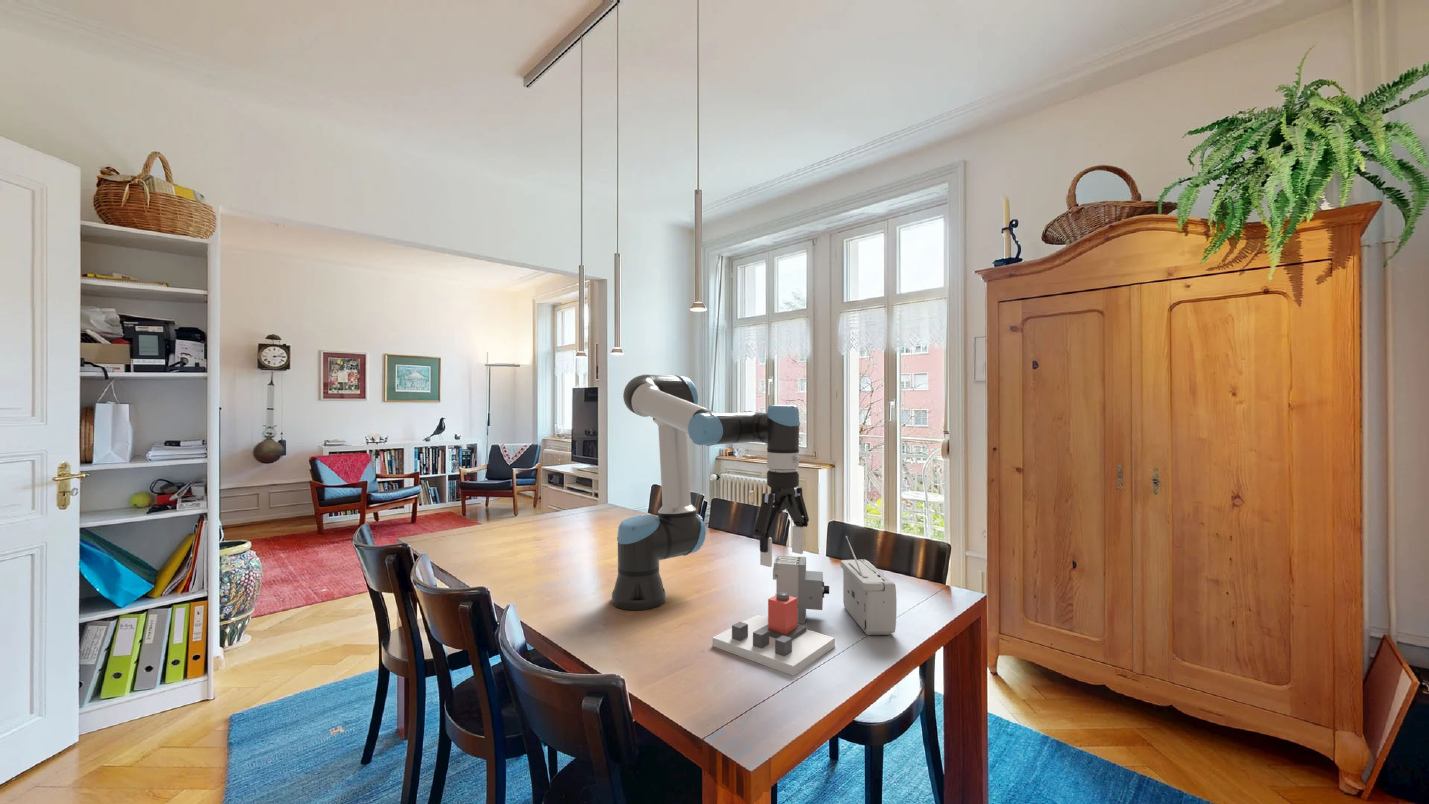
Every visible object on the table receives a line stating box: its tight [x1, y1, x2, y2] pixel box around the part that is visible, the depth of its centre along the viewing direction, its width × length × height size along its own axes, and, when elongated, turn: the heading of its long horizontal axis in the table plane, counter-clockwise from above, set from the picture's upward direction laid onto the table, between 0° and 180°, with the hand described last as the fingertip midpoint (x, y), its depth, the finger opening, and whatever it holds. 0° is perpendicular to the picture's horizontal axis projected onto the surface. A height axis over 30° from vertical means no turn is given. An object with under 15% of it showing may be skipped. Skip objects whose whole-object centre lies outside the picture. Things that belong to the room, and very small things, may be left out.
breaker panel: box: [711, 614, 836, 676], centre depth 131 cm, size 22×18×5 cm
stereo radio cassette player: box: [840, 535, 897, 636], centre depth 146 cm, size 21×8×20 cm, turn 4°
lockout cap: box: [767, 592, 798, 634], centre depth 134 cm, size 5×5×8 cm
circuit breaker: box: [772, 554, 830, 624], centre depth 148 cm, size 8×14×15 cm, turn 78°
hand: (782, 559), depth 134 cm, fingers open, 13 cm apart
